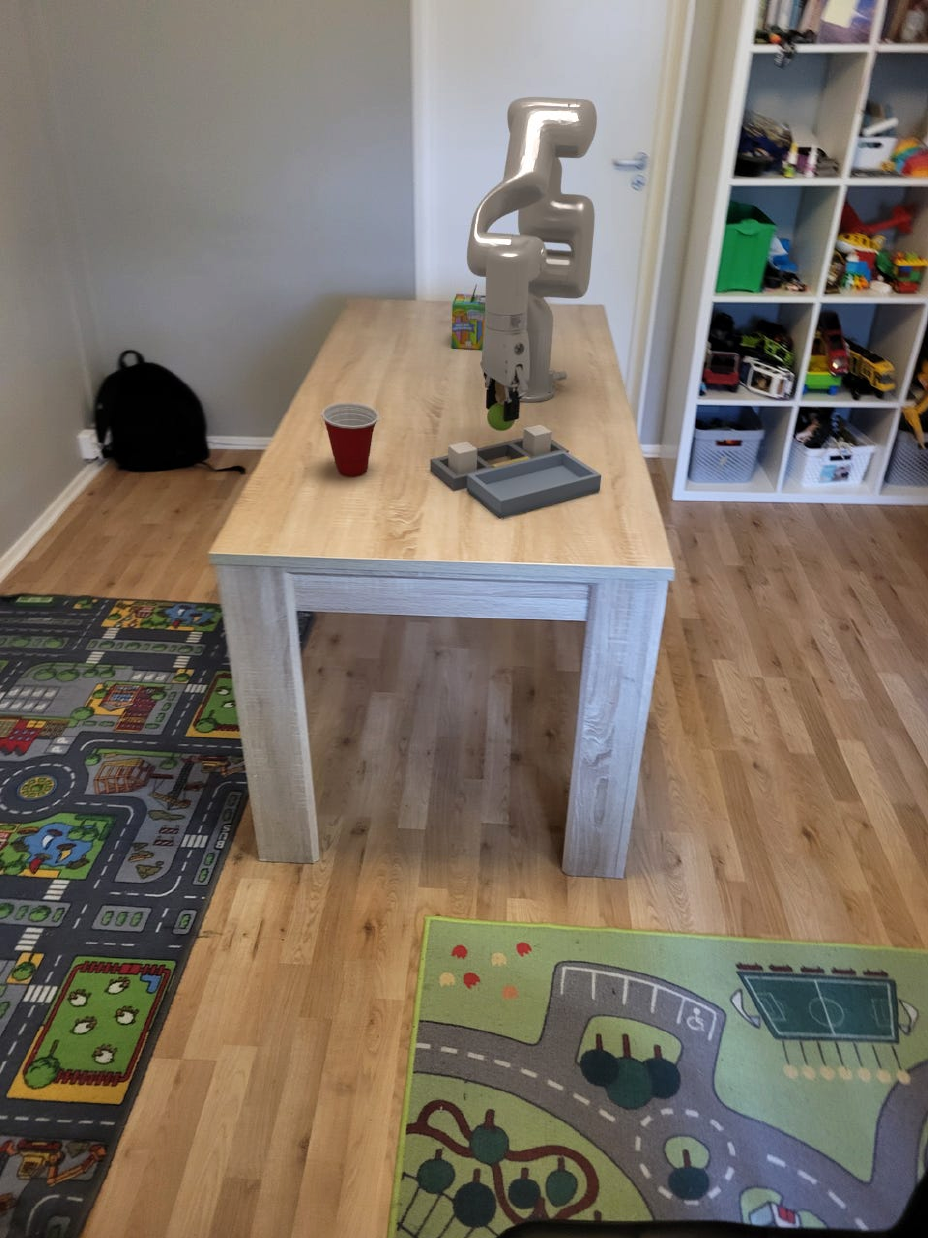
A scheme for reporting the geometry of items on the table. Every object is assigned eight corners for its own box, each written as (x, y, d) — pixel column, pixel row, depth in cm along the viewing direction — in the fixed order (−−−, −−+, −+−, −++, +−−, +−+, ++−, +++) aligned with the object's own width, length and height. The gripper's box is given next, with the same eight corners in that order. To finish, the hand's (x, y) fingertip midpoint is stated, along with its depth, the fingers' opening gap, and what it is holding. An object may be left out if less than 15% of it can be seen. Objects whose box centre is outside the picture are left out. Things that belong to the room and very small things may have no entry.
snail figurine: (498, 439, 176) (500, 379, 169) (481, 426, 181) (483, 367, 173) (522, 434, 178) (525, 374, 171) (506, 421, 183) (508, 362, 175)
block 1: (466, 469, 182) (466, 441, 179) (476, 477, 179) (477, 449, 176) (448, 474, 180) (448, 445, 177) (458, 482, 178) (458, 453, 174)
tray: (563, 466, 184) (564, 450, 182) (599, 491, 175) (601, 474, 173) (466, 491, 174) (466, 474, 172) (500, 518, 166) (500, 501, 164)
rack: (541, 444, 192) (542, 431, 190) (567, 462, 185) (568, 449, 184) (430, 470, 181) (430, 457, 180) (454, 490, 175) (454, 477, 173)
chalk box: (455, 337, 246) (455, 279, 238) (489, 339, 245) (491, 281, 237) (450, 349, 239) (450, 290, 230) (486, 351, 238) (487, 292, 229)
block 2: (538, 452, 189) (540, 424, 186) (549, 459, 186) (551, 431, 183) (522, 456, 187) (523, 428, 184) (532, 463, 185) (534, 435, 181)
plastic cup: (373, 485, 176) (370, 426, 169) (318, 480, 177) (313, 421, 170) (387, 461, 185) (385, 403, 178) (335, 455, 186) (331, 398, 179)
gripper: (550, 330, 162) (543, 426, 173) (498, 302, 174) (495, 394, 185) (513, 337, 159) (509, 435, 170) (463, 308, 171) (462, 401, 182)
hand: (502, 412), depth 177 cm, fingers closed on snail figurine, 5 cm apart
